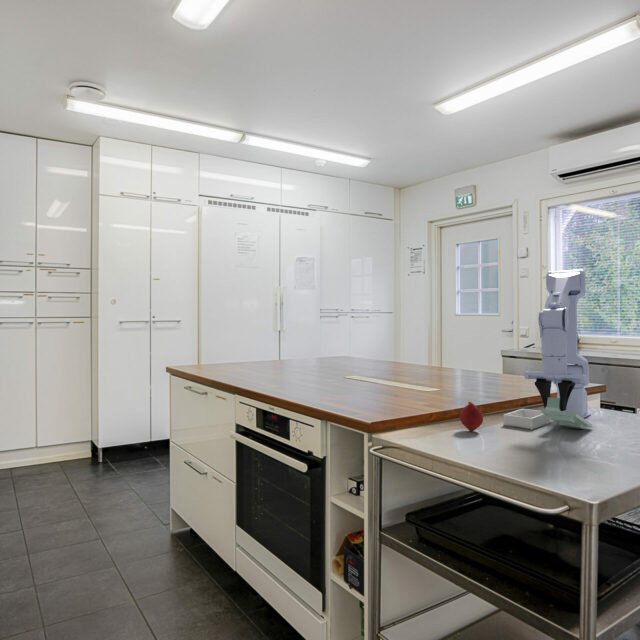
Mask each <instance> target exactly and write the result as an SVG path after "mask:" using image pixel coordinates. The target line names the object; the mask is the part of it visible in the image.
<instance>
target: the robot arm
mask: <svg viewBox="0 0 640 640" xmlns="http://www.w3.org/2000/svg"><path fill="white" fill-rule="evenodd" d="M586 283H587V282H586V271H585V270H584V269H583V268H580V269H570V270H569V269H568V270H553V271H552V270H549V271H547V273H546V276H545V285H546V286H545V287H546V290H547V292H548V296H547V297H546V300H545V304H544V308H543V309H542V310H540V311H539V312H538V317H537V318H538V321H537V322H538V327H539V337H540V339H541V371H536V370H535V371H532V370H527V371H524V380H536V381H534V386H535V387H536V389H537V391H538V393H539V394H540V398H541V400H542V403H543V410H545V408H546V407H547V400H548V397H551V389H552V384H553V385H555V387H556V398H560V411H564V412H567V413H576V414H578V415H579V416H581V417H582V418H584V419H585V418H586V417H588V416H591V415H592V412H588V407H589V406H588V393H587V390H586V388H585V387H587V386H588V385H589V384H590V368H589V360H588V359H587V358H586V357H584V356H583V355H581V354H580V353H579V351H578V350H579V349H578V348H579V347H578V306H577V305H578V302H579V299H581V298H584V297H585V295H586Z"/></svg>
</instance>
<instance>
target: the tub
mask: <svg viewBox="0 0 640 640" xmlns="http://www.w3.org/2000/svg"><path fill="white" fill-rule="evenodd" d="M502 418H503V419H502V420H503V426H506V427H511V428H512V427H513V428H518V429H523V430H524V429H525V430H531V431H532V430H535V429H538V428H540V427H543V426H545V425H548V424H550V423H551V419H549V418H548V416H546V415H544V414H543V413H541V410H536V409H528V408H520V409H517V410H514V411H511V412H507V413H504V414H503V417H502Z"/></svg>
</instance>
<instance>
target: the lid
mask: <svg viewBox="0 0 640 640" xmlns="http://www.w3.org/2000/svg"><path fill="white" fill-rule="evenodd" d="M540 411H541V413H543V414H544V415H546V416H548V418H549V419H550V421H554V422H556V423H558V426H560V427H562V428H563V427H564V428H573V429H579V430H585V427H587V428H593V423H591V422H589V421H588V420H586V419H585V417H584V418H582V417H581V416H579V415H578V414H576V413H567V412H564V411H560V398H557V397H551V396H550V397H548V400H547V407H546V408H545V409H541V410H540Z"/></svg>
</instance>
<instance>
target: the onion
mask: <svg viewBox="0 0 640 640" xmlns="http://www.w3.org/2000/svg"><path fill="white" fill-rule="evenodd" d="M459 418H460V423H461V424H462V426H464V427H465V428H466V429H467V430H468V431H469V432H474V431H475V430H477V429H478V428H479V427H481V425H482V423H483V421H484V415H483V412H482V411H481V409H480V408H479V407H478V406H476V405H475V404H474V403H473V402H472V401H470V400H469V401H468V402H467V405H465V407H463V408H462V409H461V412H460V413H459Z"/></svg>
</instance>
